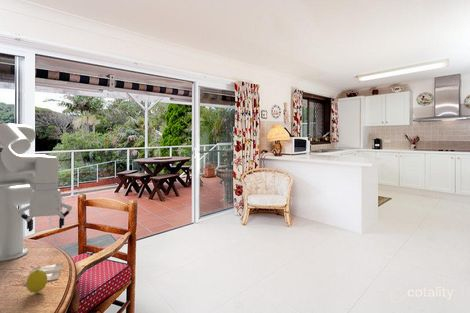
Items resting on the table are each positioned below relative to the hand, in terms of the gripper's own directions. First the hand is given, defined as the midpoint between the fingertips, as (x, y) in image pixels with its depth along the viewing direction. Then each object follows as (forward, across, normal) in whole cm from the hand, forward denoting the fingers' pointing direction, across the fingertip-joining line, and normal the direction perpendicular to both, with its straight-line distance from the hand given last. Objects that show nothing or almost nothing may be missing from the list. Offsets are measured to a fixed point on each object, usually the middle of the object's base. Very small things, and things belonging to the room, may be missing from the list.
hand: (46, 228), depth 98 cm
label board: (+16, +1, -4) cm, 17 cm away
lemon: (+17, 0, -18) cm, 25 cm away
